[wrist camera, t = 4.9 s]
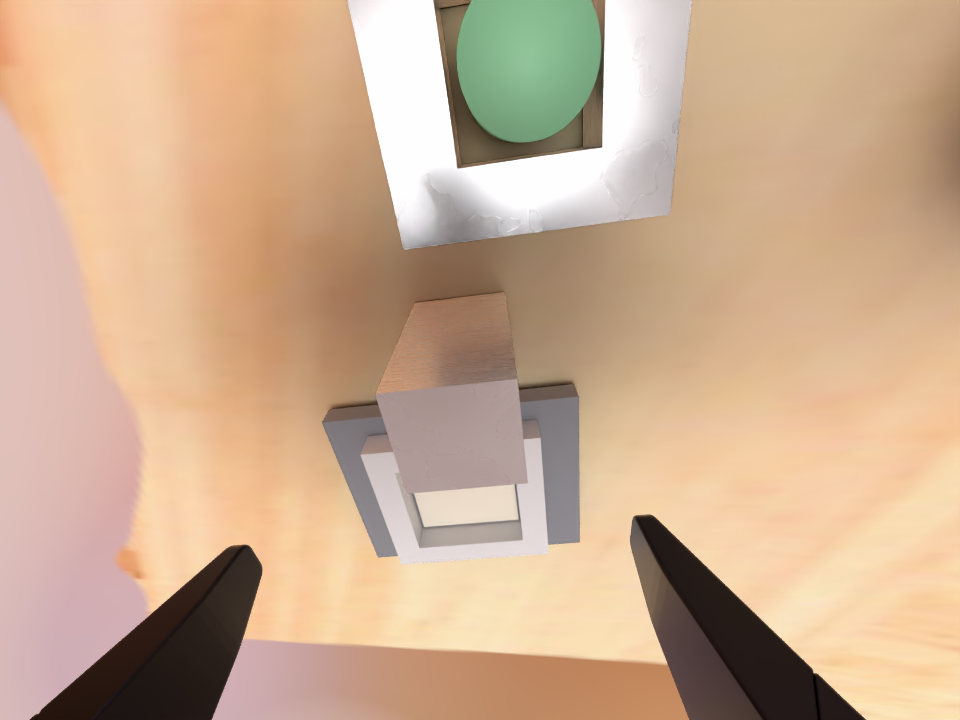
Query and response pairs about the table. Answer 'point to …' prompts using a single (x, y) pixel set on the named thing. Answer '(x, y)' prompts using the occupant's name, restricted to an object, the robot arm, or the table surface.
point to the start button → (527, 64)
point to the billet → (455, 397)
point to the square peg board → (531, 178)
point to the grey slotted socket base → (467, 512)
